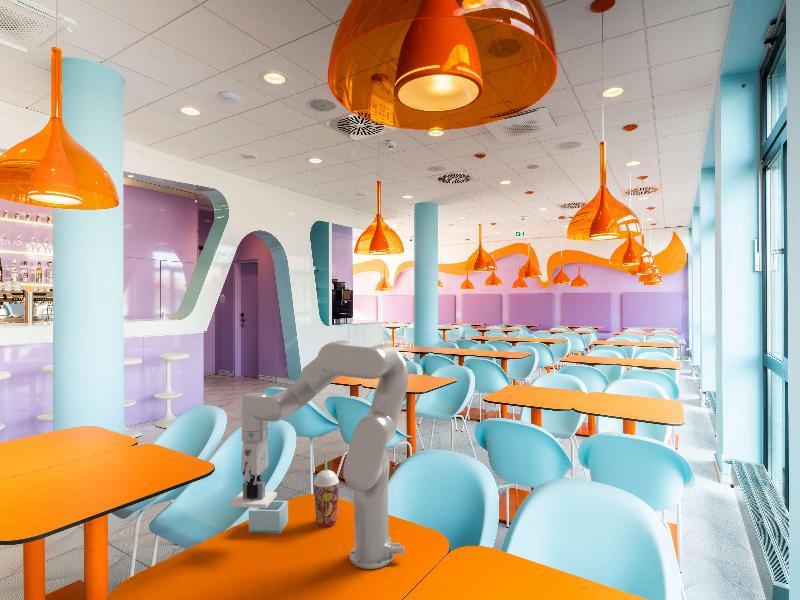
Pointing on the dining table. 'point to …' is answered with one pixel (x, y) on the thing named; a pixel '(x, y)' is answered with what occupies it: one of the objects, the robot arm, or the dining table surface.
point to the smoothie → (326, 497)
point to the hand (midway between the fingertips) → (254, 495)
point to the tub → (269, 518)
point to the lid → (258, 502)
